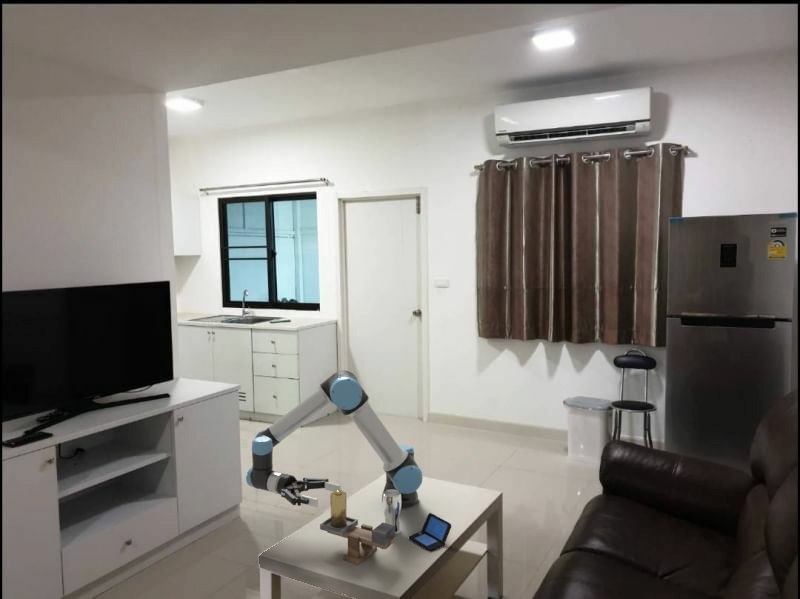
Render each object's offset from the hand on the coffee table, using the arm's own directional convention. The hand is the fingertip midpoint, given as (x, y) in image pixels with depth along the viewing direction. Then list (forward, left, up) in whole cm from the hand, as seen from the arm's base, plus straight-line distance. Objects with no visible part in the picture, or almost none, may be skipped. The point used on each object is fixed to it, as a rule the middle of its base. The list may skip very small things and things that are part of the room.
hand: (328, 495), depth 214 cm
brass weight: (0, +4, -10) cm, 10 cm away
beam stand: (0, +13, -18) cm, 23 cm away
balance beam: (0, +12, -12) cm, 17 cm away
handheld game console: (-21, +30, -19) cm, 41 cm away
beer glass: (-20, +14, -19) cm, 31 cm away
